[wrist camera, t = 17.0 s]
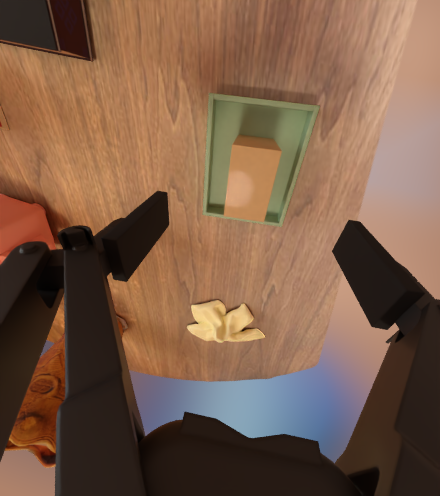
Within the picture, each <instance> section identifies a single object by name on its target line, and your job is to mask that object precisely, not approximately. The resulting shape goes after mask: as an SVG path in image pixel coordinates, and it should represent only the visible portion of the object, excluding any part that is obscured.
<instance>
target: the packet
mask: <svg viewBox="0 0 440 496" xmlns="http://www.w3.org/2000/svg"><path fill="white" fill-rule="evenodd" d="M281 153H282V150H281V149H280V147H279V146H278V145H277V143H276V142H275V140H274V139H270V138H263V137H255V136H247V135H238V136H237V138H236V139H235V141H234V143H233V144H232V150H231V158H230V167H229V175H228V184H227V192H226V200H225V209H224V216H226V217H232V218H239V219H245V220H252V221H259V222H264V220H265V216H266V212H267V208H268V204H269V200H270V196H271V193H272V189H273V185H274V181H275V177H276V173H277V169H278V165H279V161H280V157H281Z"/></svg>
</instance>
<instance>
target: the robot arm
mask: <svg viewBox="0 0 440 496" xmlns="http://www.w3.org/2000/svg"><path fill="white" fill-rule="evenodd" d="M168 226H169V212H168V196H167V192H161V191H157V192H155V193H154V194H153V195H152V196H151V197H149V198H148V199H147V200H146V201H145V202H143V203H142V204H141V205H140V206H139V207H137V208H136V209H135V210H134V211H133V212H131V213H130V214H129V215H128V216H127V217H126V218H119V219H117V220H114V221H113V222H111V223H110V224H109V225H108V226H106V227H105V228H104V229H103V230H101V231H100V232H99V233H97V234H96V235H95V236H94V237H93V234H92V231H91V229H90V227H87V226H81V225H79V226H72V227H68V228H65V229H63V230H61V231H60V232H59V233H58V235H57V236H58V239H59V241H60V243H61V245H62V247H63V249H54V250H50V249H49V247H48V245H47V244H46V242H42V241H33V242H26V243H23V244H21V245H19V246H17V247H15V248H14V249H13V250H12V251H11V252H10V253H9V255H8V256H7V257H6V258H5V260H4V261H3V262H2V263H1V264H0V461H1V459H2V456H3V453H4V451H5V448H6V445H7V443H8V440H9V437H10V435H11V432H12V430H13V427H14V424H15V422H16V419H17V416H18V414H19V411H20V408H21V406H22V403H23V400H24V398H25V395H26V392H27V390H28V387H29V384H30V382H31V379H32V376H33V374H34V371H35V369H36V366H37V363H38V361H39V358H40V355H41V353H42V350H43V347H44V344H45V342H46V339H47V337H48V334H49V331H50V329H51V326H52V323H53V321H54V318H55V315H56V313H57V310H58V307H59V305H60V302H61V300H62V297H63V294H64V315H65V399H64V401H63V402H62V403H61V404H60V405H59V408H58V411H57V420H56V466H55V496H440V300H437V299H434V297H432V295H431V294H430V293H429V292H428V291H427V290H426V289H425V288H424V287H423V286H422V285H421V284H420V283H419V282H417V279H416V278H415V277H413V276H412V274H411V273H410V272H409V271H408V270H407V269H406V268H405V267H404V266H402V265H401V264H399V263H398V262H396V261H395V260H394V258H393V257H392V256H391V255H390V254H389V253H388V252H387V251H386V250H385V249H384V247H383V246H382V245H381V244H380V243H379V242H378V241H377V240H376V239H375V238H374V236H373V235H372V234H371V233H370V232H369V231H368V230H367V229H366V228H365V227H364V226H363V224H362V223H361V222H359V221H353V220H348V222H347V224H346V226H345V228H344V230H343V231H342V233H341V235H340V237H339V239H338V241H337V243H336V244H335V246H334V248H333V250H332V252H333V254H334V256H335V258H336V260H337V262H338V264H339V266H340V268H341V269H342V271H343V273H344V275H345V277H346V279H347V281H348V283H349V285H350V287H351V288H352V290H353V292H354V294H355V296H356V298H357V300H358V302H359V304H360V306H361V307H362V309H363V311H364V313H365V315H366V317H367V319H368V321H369V323H370V324H371V326H372V327H375V328H380V329H386V330H388V329H389V328H390V327H391V326H392V325H393V324H394V323H396V325H397V326H398V327H399V330H398V331H397V332H396V333H395V334H394V335H393V336H392V337H391V338H389V339H388V340H387V341H386V343H389V342H391V343H390V346H389V348H388V351H387V353H386V355H385V358H384V360H383V363H382V365H381V367H380V370H379V372H378V374H377V377H376V379H375V381H374V384H373V386H372V389H371V391H370V393H369V396H368V398H367V400H366V403H365V405H364V407H363V410H362V412H361V415H360V417H359V420H358V422H357V424H356V427H355V429H354V431H353V434H352V436H351V438H350V441H349V443H348V445H347V447H346V450H345V451H344V453H343V454H342V455H341V456H340V457H339V459H337V461H336V462H335V464H334V463H333V462H332V461H331V460H329V459H328V458H327V457H325V456H324V455H323V454H321V453H320V449H319V443H318V441H313V440H309V439H305V438H300V437H295V436H291V435H287V434H280V435H273V436H266V437H258V438H248V437H246V436H244V435H243V434H241V433H239V432H237V431H236V430H234V429H233V428H231V427H229V426H228V425H226V424H224V423H222V422H221V421H219V420H218V419H215V418H211V417H206V416H202V415H197V414H193V413H188V412H184V417H183V420H176V421H172V422H169V423H166V424H164V425H162V426H160V427H158V428H157V429H155V430H153V431H152V432H150V433H149V434H148V435H147V436H145V432H144V428H143V424H142V420H141V417H140V413H139V410H138V407H137V403H136V399H135V394H134V390H133V386H132V382H131V377H130V373H129V369H128V364H127V360H126V356H125V351H124V347H123V343H122V339H121V334H120V330H119V326H118V321H117V317H116V313H115V309H114V304H113V300H112V296H111V291H110V287H109V283H108V279H107V276H108V275H109V274H110V272H111V273H112V276H113V279H114V280H119V281H125V282H127V281H128V279H129V278H130V277H131V275H132V274H133V273H134V271H135V270H136V269H137V267H138V266H139V265H140V263H141V262H142V261H143V259H144V258H145V257H146V255H147V254H148V253H149V251H150V250H151V249H152V247H153V246H154V245H155V243H156V242H157V241H158V239H159V238H160V237H161V235H162V234H163V233H164V231H165V230H166V229H167V227H168Z"/></svg>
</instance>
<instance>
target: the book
mask: <svg viewBox="0 0 440 496" xmlns="http://www.w3.org/2000/svg"><path fill="white" fill-rule="evenodd" d="M0 43H3V44H8V45H13V46H18V47H23V48H28V49H33V50H38V51H43V52H48V53H53V54H58V55H63V56H68V57H73V58H78V59H83V60H88V61H93V57H92V50H91V44H90V37H89V31H88V24H87V18H86V12H85V5H84V0H0Z"/></svg>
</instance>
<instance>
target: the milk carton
mask: <svg viewBox="0 0 440 496" xmlns="http://www.w3.org/2000/svg"><path fill="white" fill-rule="evenodd" d="M0 130H9V127H8V125H7V122H6V119H5V117H4V114H3V111H2V108H1V106H0Z"/></svg>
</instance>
